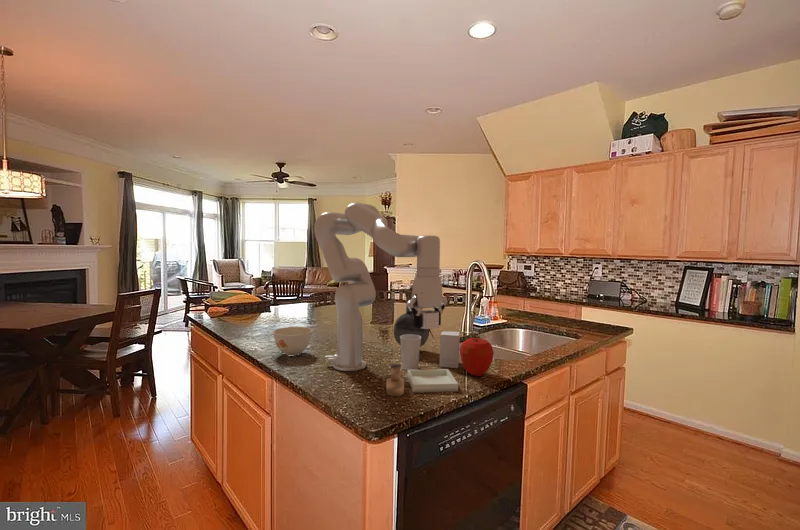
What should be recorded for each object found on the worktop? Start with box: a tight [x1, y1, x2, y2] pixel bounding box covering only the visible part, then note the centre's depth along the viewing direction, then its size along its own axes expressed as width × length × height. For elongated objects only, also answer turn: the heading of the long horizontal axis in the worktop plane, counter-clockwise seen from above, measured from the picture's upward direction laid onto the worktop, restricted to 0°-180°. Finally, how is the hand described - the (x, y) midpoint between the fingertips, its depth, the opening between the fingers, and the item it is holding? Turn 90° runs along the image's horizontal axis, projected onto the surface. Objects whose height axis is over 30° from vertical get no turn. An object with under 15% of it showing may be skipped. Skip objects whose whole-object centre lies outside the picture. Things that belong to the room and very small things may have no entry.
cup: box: [400, 334, 421, 371], centre depth 145 cm, size 8×8×12 cm
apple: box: [459, 336, 495, 377], centre depth 138 cm, size 12×12×14 cm
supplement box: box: [439, 330, 461, 369], centre depth 150 cm, size 7×7×13 cm
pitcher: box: [393, 284, 435, 348], centre depth 167 cm, size 11×19×30 cm, turn 73°
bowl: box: [272, 326, 314, 356], centre depth 160 cm, size 16×16×10 cm
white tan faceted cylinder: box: [385, 363, 405, 397], centre depth 120 cm, size 6×6×9 cm
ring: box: [413, 309, 440, 330], centre depth 126 cm, size 9×7×5 cm
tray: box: [406, 368, 459, 393], centre depth 129 cm, size 15×15×2 cm
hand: (427, 325), depth 126 cm, fingers closed on ring, 7 cm apart
